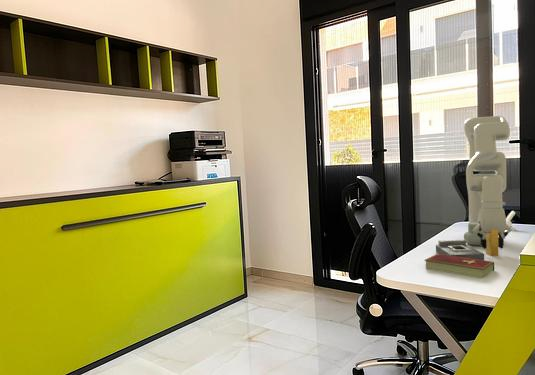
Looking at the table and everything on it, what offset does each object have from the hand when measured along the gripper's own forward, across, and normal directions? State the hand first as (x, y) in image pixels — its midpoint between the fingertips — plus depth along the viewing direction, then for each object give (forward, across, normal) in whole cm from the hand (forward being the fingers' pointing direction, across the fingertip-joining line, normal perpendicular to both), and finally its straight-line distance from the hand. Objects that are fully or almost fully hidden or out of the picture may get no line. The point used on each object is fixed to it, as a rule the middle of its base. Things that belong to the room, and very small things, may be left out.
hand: (492, 247), depth 172 cm
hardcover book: (+4, +21, +20) cm, 30 cm away
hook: (+3, -31, -51) cm, 60 cm away
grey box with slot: (+3, +14, +1) cm, 14 cm away
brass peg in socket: (+3, 0, 0) cm, 3 cm away
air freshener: (+3, -1, -19) cm, 19 cm away
